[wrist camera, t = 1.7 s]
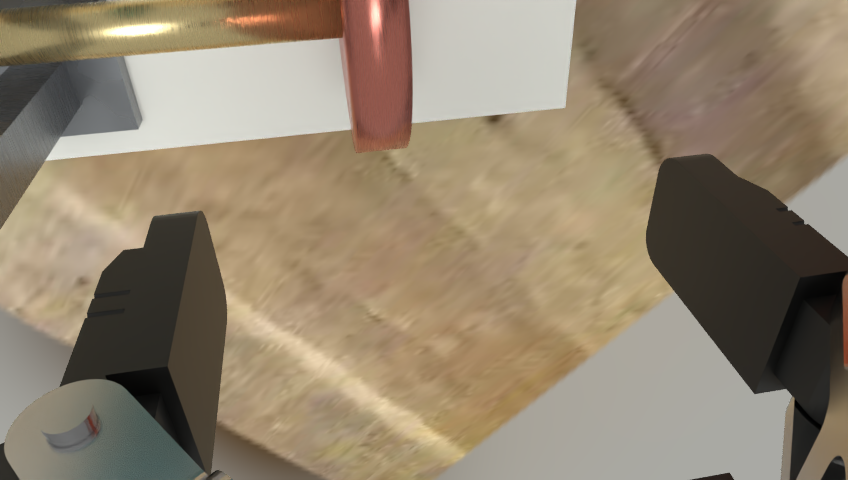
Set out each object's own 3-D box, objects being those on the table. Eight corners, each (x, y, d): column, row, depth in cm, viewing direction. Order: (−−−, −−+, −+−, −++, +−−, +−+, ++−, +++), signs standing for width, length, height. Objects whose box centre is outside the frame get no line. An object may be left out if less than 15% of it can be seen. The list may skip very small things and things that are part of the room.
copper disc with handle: (365, -166, 24) (403, -143, 16) (382, 88, 30) (417, 198, 22) (-158, -142, 22) (-414, -102, 14) (-31, 127, 28) (-161, 265, 20)
